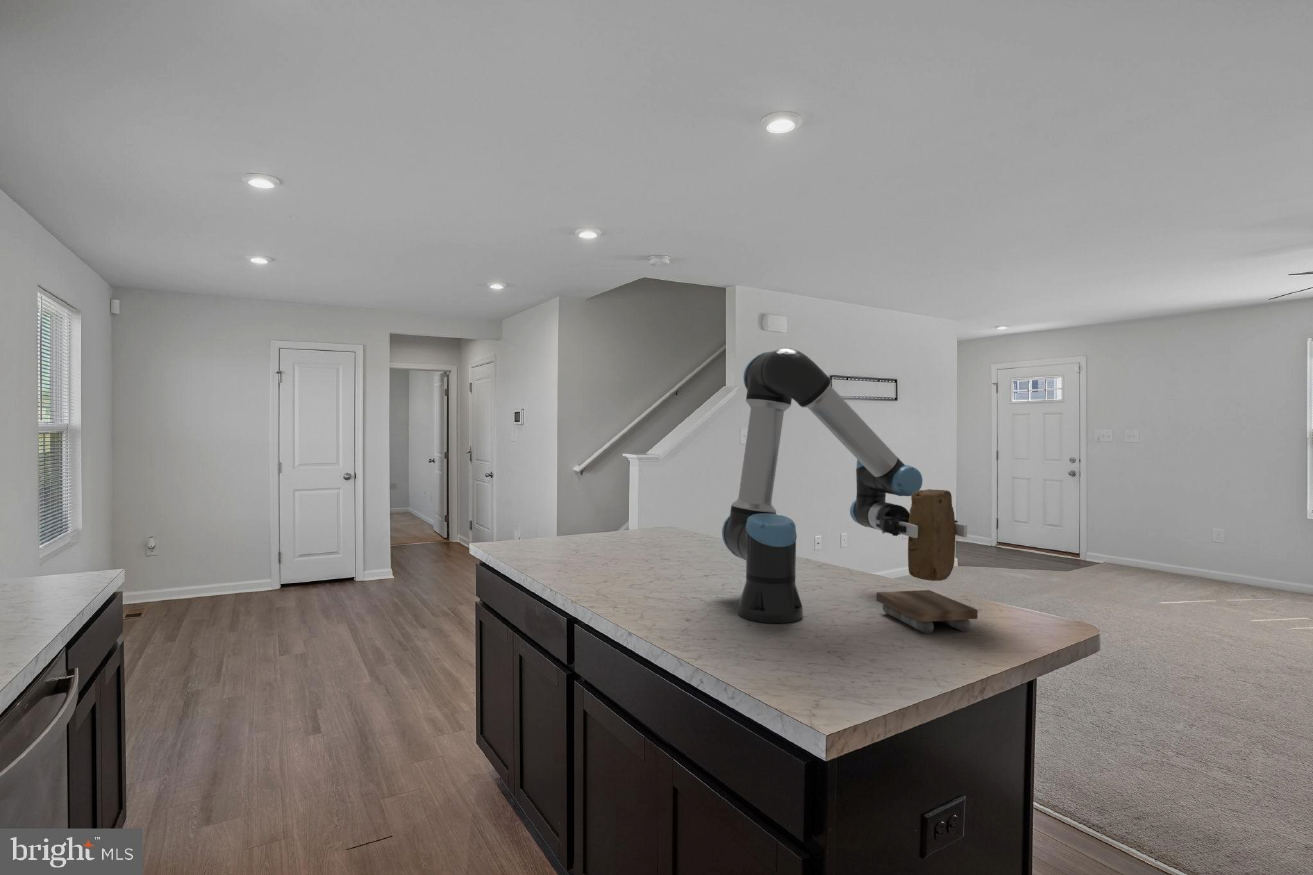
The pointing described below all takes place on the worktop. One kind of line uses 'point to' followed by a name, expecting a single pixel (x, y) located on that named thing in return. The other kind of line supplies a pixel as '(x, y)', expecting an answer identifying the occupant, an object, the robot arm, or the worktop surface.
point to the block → (932, 535)
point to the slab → (926, 609)
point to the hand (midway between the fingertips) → (941, 531)
